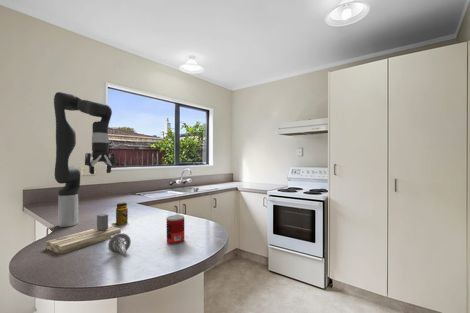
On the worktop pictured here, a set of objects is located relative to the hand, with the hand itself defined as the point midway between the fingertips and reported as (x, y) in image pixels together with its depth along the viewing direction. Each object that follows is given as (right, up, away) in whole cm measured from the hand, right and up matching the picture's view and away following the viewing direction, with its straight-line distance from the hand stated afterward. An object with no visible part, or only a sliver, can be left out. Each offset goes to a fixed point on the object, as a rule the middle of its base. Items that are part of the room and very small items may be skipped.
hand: (100, 173), depth 119 cm
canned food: (+42, -30, -14) cm, 54 cm away
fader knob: (+5, -28, -7) cm, 29 cm away
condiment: (+3, -31, +14) cm, 34 cm away
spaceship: (+24, -30, -28) cm, 47 cm away
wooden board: (+1, -30, -13) cm, 33 cm away
